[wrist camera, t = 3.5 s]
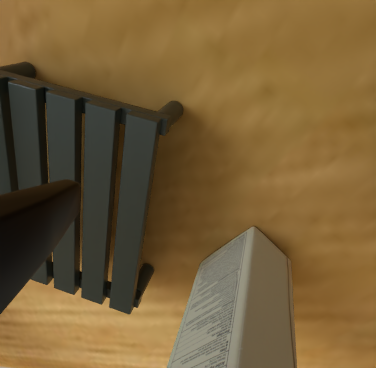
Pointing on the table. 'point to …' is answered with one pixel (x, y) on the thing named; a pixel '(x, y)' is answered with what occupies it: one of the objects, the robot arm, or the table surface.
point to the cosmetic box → (239, 309)
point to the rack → (85, 178)
